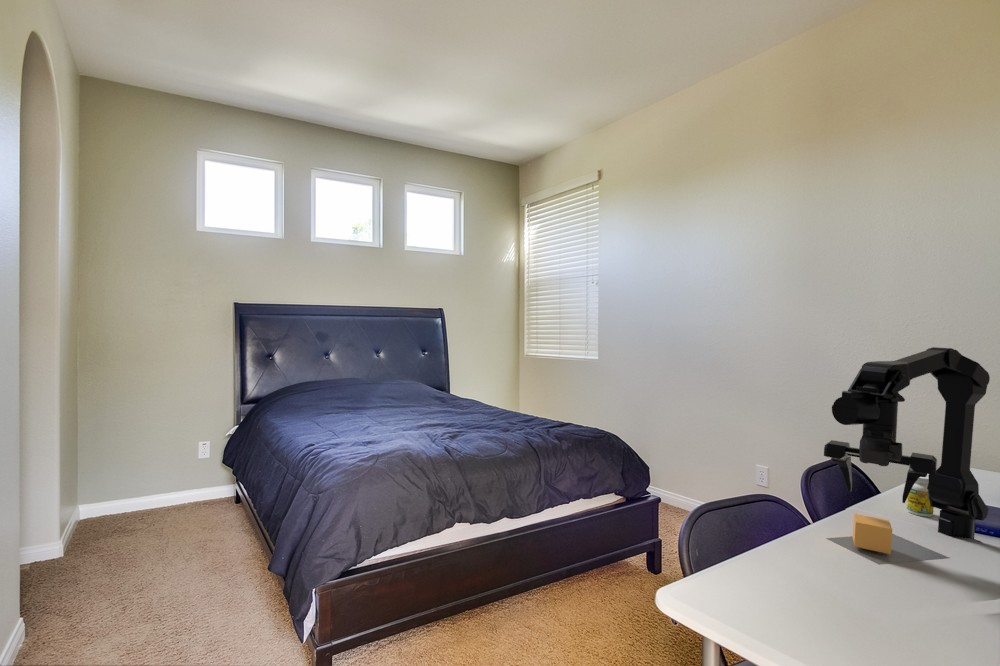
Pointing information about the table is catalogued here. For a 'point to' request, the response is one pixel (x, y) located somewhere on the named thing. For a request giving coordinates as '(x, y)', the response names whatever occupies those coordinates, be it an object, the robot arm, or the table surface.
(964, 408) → the robot arm
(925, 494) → the supplement bottle
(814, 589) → the table surface
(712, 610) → the table surface
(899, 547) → the plate
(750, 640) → the table surface
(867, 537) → the cardboard cube
